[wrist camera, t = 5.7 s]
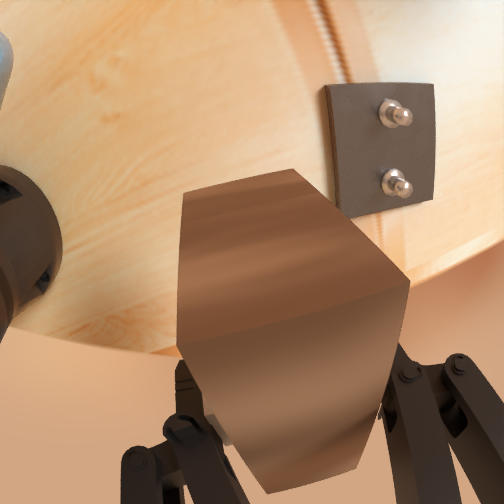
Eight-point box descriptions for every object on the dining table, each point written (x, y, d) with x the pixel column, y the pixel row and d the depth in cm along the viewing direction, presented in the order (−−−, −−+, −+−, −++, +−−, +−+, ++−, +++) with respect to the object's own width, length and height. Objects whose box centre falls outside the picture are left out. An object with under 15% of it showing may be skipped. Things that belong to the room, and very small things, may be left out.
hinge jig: (337, 216, 30) (352, 231, 27) (325, 84, 23) (342, 85, 20) (427, 196, 31) (446, 208, 28) (427, 83, 24) (449, 86, 21)
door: (310, 358, 18) (355, 468, 12) (241, 376, 18) (267, 494, 11) (292, 168, 12) (410, 281, 5) (183, 193, 12) (176, 345, 5)
